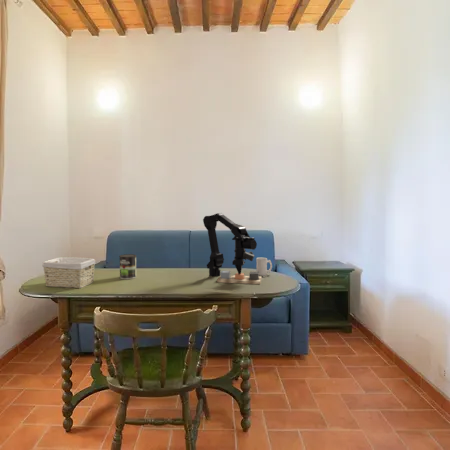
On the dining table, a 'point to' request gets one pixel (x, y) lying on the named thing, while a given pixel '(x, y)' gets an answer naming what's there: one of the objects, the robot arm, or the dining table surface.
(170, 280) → the dining table surface
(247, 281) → the birch panel
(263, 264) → the mug
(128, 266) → the coffee can
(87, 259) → the storage basket
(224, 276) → the blue-grey cube
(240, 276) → the orange cube
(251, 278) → the dark grey cube
